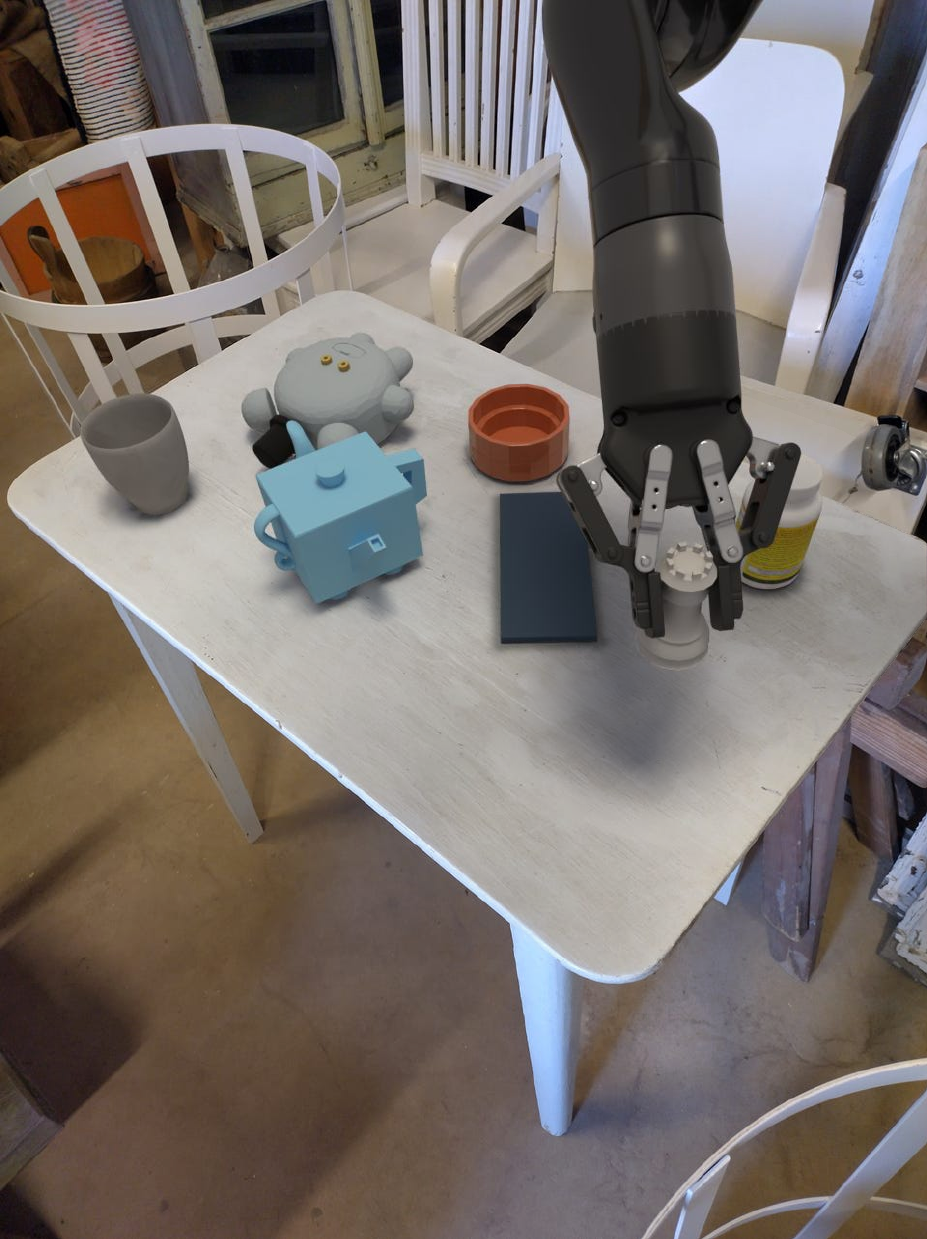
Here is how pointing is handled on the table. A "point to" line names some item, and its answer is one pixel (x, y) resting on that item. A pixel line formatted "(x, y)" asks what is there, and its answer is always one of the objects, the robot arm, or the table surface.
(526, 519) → the rectangular board
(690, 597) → the rook chess piece
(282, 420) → the figurine
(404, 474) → the teapot
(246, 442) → the table surface
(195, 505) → the table surface
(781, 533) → the pill bottle
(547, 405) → the bowl
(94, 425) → the mug
